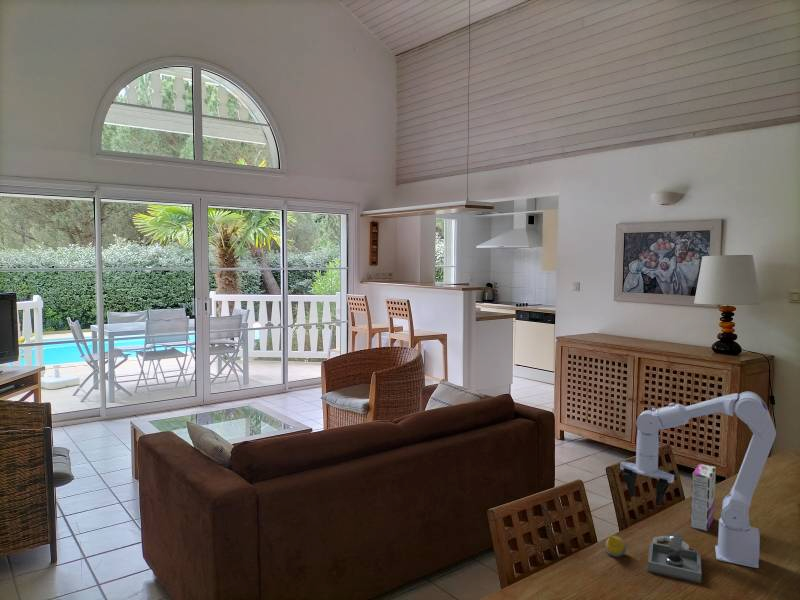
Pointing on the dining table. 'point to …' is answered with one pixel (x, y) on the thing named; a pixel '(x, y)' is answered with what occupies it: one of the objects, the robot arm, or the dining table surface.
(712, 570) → the dining table surface
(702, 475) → the candy bar box
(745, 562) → the robot arm
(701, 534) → the dining table surface
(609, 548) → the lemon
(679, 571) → the tray
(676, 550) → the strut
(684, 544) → the seat ring
